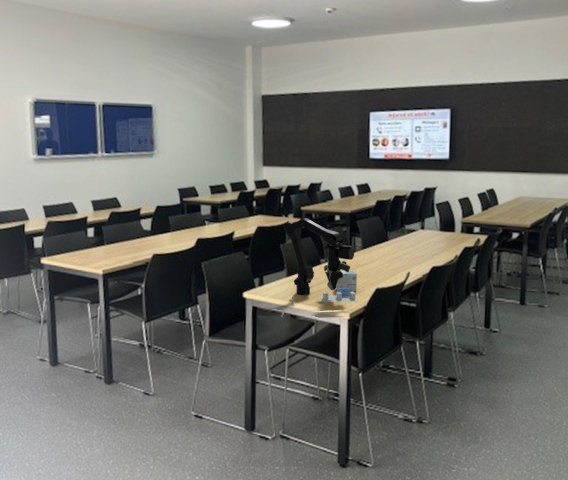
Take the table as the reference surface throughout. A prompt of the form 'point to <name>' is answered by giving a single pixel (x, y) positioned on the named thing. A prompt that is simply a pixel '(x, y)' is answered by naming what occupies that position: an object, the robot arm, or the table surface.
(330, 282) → the dark gray cylinder
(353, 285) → the light bulb box
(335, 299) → the white base plate
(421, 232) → the table surface
